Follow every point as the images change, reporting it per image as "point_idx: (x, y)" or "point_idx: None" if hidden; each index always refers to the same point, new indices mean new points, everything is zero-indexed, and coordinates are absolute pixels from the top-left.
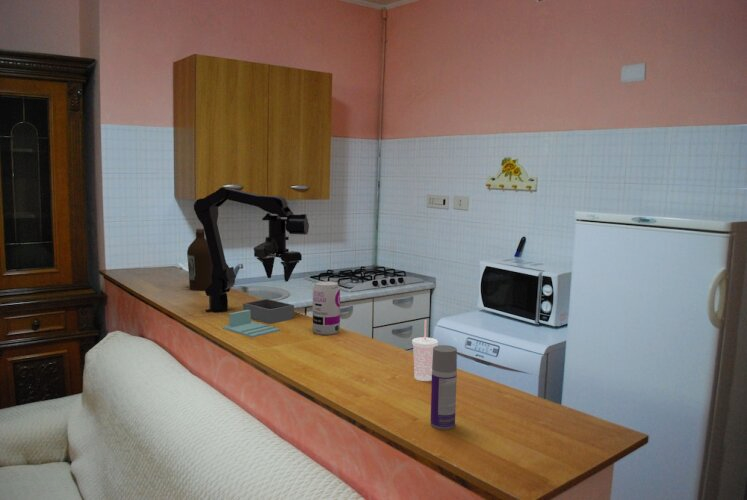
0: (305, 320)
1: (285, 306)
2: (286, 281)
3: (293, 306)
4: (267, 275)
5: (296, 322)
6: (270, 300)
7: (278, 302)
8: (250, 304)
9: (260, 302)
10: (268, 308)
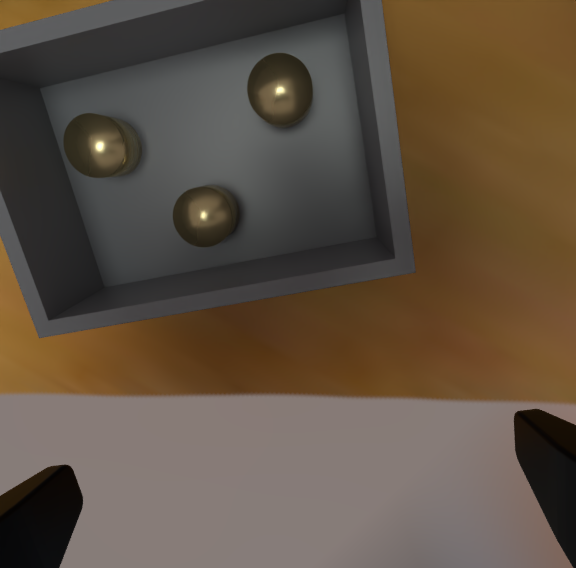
0: (61, 348)
1: (17, 250)
2: (60, 478)
3: (44, 327)
4: (555, 429)
5: None
6: (334, 268)
7: (218, 289)
8: (362, 44)
9: (380, 178)
10: (358, 247)
